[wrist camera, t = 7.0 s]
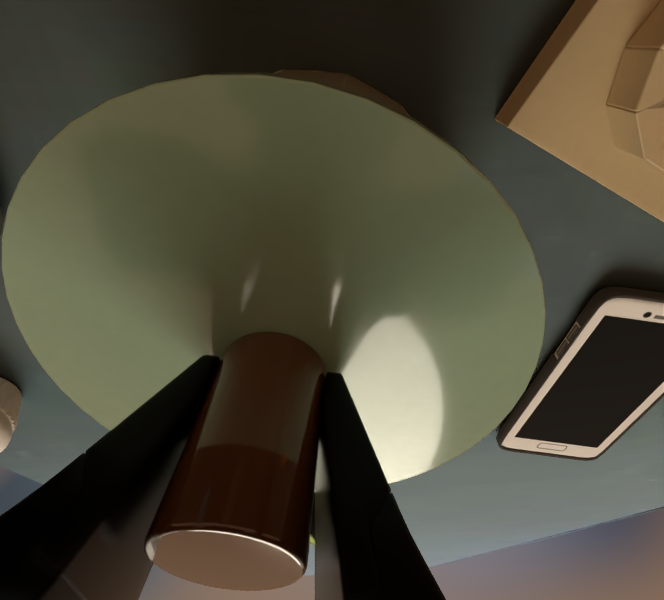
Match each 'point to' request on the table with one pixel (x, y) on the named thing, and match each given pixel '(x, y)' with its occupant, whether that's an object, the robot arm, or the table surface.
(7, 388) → the muffin
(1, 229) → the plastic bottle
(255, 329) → the lid
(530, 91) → the control block
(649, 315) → the cell phone
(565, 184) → the table surface
